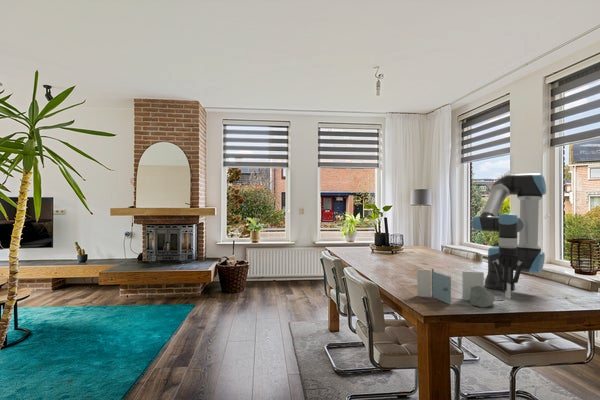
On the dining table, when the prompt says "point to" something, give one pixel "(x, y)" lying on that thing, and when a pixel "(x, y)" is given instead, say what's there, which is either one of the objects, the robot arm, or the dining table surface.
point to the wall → (467, 282)
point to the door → (442, 287)
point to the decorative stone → (481, 297)
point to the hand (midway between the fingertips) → (507, 297)
